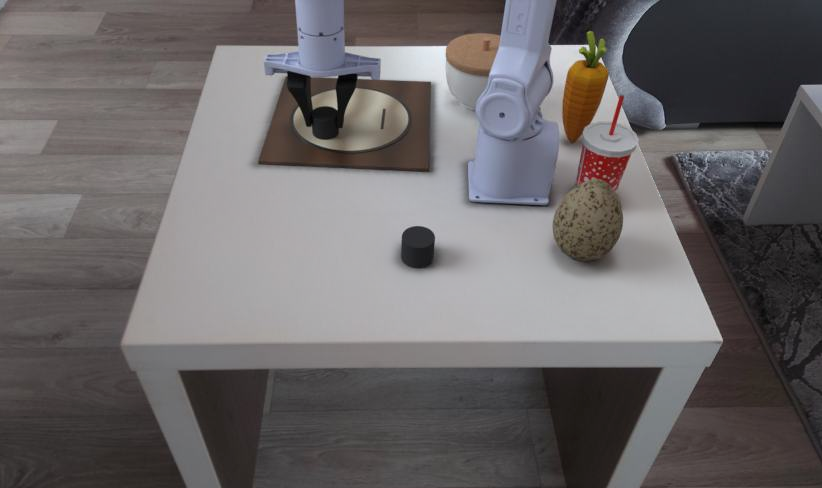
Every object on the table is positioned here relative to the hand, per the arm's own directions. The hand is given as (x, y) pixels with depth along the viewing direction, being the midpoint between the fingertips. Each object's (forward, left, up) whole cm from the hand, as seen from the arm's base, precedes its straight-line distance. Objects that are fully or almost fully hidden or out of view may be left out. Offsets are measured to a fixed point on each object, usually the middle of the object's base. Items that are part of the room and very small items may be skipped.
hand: (325, 123), depth 93 cm
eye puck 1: (0, 0, -1) cm, 1 cm away
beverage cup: (-34, +11, -2) cm, 36 cm away
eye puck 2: (-13, +23, -2) cm, 26 cm away
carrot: (-33, -1, -2) cm, 33 cm away
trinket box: (-21, -11, -2) cm, 24 cm away
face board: (-3, -4, -2) cm, 5 cm away
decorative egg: (-31, +21, -2) cm, 38 cm away
